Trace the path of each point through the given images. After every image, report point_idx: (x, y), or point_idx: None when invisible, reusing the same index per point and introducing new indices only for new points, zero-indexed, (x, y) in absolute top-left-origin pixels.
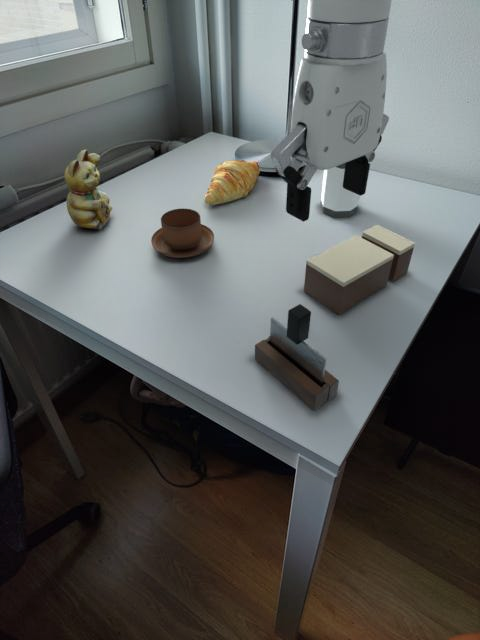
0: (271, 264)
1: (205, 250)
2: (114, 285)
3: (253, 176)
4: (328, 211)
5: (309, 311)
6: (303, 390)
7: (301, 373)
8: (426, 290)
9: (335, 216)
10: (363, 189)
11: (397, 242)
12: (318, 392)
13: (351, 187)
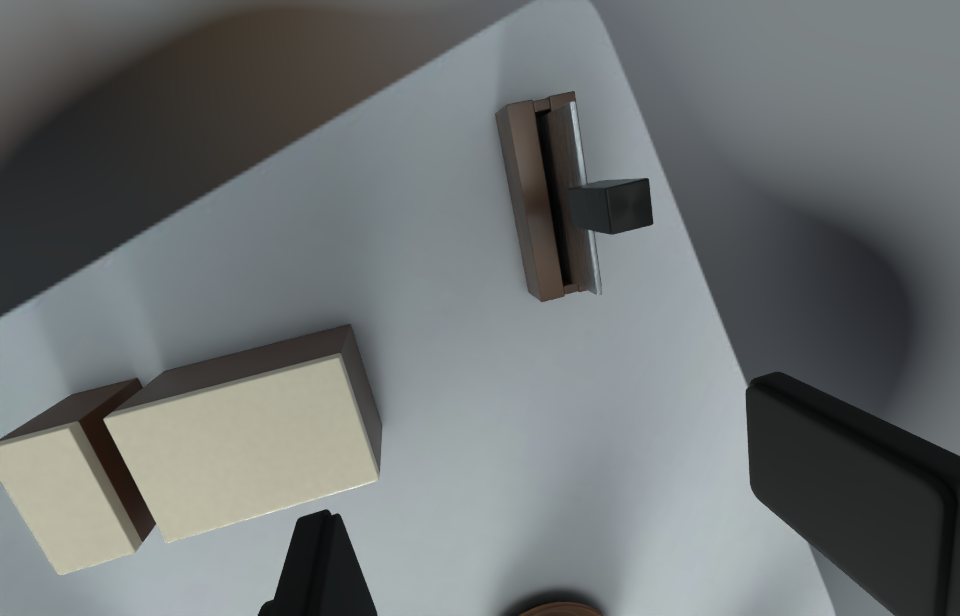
0: (401, 536)
1: (522, 613)
2: (706, 560)
3: None
4: None
5: (608, 191)
6: None
7: None
8: (56, 314)
9: None
10: (317, 535)
11: (48, 471)
12: (564, 98)
13: (357, 590)
